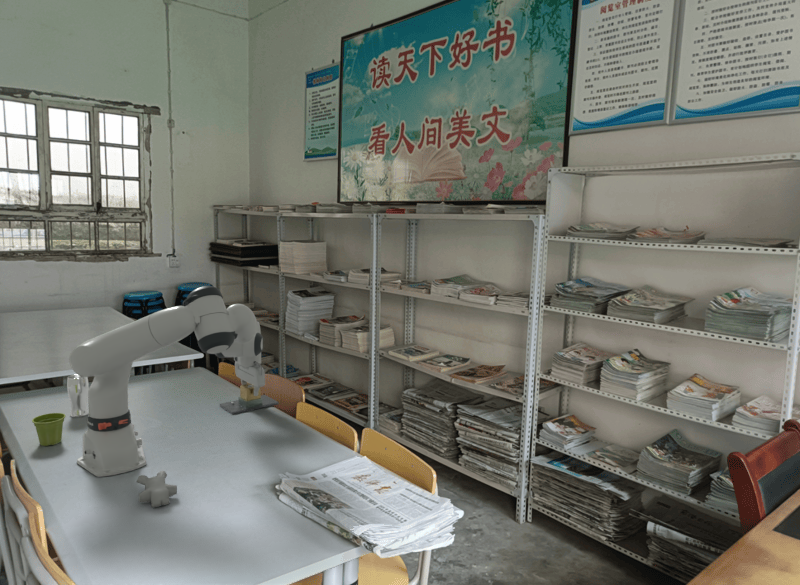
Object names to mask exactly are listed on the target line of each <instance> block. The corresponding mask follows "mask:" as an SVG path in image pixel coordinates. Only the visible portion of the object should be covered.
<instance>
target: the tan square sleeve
mask: <svg viewBox="0 0 800 585" xmlns="http://www.w3.org/2000/svg"><path fill="white" fill-rule="evenodd" d="M248 385H251V384H250V383H247V384H245V385H242V384H241V385H239V386H240V388H239V394H240V395H239V397H241V398H243V399H244V400H246V401H250V400H254V399H259V398H261V395H262V392H261V388H262V387H260V389H259V391H258V396H254V395H253V391H254V387H249V388H248Z"/></svg>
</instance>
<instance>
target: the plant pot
mask: <svg viewBox="0 0 800 585" xmlns="http://www.w3.org/2000/svg"><path fill="white" fill-rule="evenodd" d="M65 419H66V414H65V413H63V412H52V413H44V414H41V415H38V416H35V417H34V418H32V420H31V423H33V425H34V427H35V431H36V434H37V437H38V438H37V439H38V442H39V444H40V446H44V447H47V446H48V447H49V446H50V445H53V446H54V445H57V444H59V443H61V442H62V439H63V438H62V437H63V429H64V428H63V427H64V421H65Z"/></svg>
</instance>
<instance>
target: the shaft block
mask: <svg viewBox="0 0 800 585" xmlns="http://www.w3.org/2000/svg"><path fill="white" fill-rule="evenodd" d="M249 387H253V385H248V388H249ZM279 403H280V402H279V401H278V400H276V399H274V398H271V397H270V396H268V395H266V394H261V398H259V399H254V400H250V401H246V400H244V399H243V398H241V397H240V396H238V399H236V400H232V401H226V402H223V403H222V402H221V403H219V407H220V408H221V409H223V410H225V411H226V412H228V413H229V414H231V415H236V414H240V413H246V412H250V411H255V410H258V409H260V410H261V409H264V408H269V407H274V406H279Z"/></svg>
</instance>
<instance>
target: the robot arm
mask: <svg viewBox="0 0 800 585" xmlns="http://www.w3.org/2000/svg"><path fill="white" fill-rule="evenodd" d="M260 325H261V324H260V322H259V320H257V318H256V316H255V313H254V312H253V310H252V309H251V308H250V307H249V306H247V305H245V304H243V303H234V304H231V305H229V306H228V307H227V306H226V305H225V302H224V296H223V294H222V293H221V291H220V290H219V288H218V287H215V286H212V285H204V286H201V287H197V288H195V289H193V290H192V291H191V292H190V293H189V294H188V295H187V296H186V298H184V300H183V302H182V305H176V306H172V307H168V308H164V309H160V310H157V311H155V312H153V313H151V314H148V315H146V316H144V317H141V318H139V319H137V320H134V321H132V322H129V323H127V324H124V325H121V326H119V327H117V328H114V329H112V330H109V331H107V332H105V333H102V334H99V335H97V336H94V337H92V338H89V339H87V340H85V341H83V342H82V343H80V344H79V345H78V346H76V347H75V348H73V349H72V350H71V352H70V354H69V358H68V360H69V365H70V368H71V370H72V371H73V372H74V373H75V374H78V375H80V376H83V377H88V378H89V377H93V379H92V383H91V384H90V386H89V390H88V398H87V408H88V412H89V413H88V414H87V415H86V417H87V419H86V423H87V427H88V428H87V430H86V431H85V432H84V434H83V435H82V456H80V457H78V458H77V459H76V464H78V465H79V466H80V467H82V468H83V469H85V470H86V471H87V472H89V473H91V474H92V475H94V476H95V477H101V478H102V477H109V476H116V475H120V474H123V473H128V472H131V471H135V470H137V469H140V468H142V467H144V466H145V465H147V461H146V460H147V459H146V456H145V452H144V447H143V440H142V437H141V438H137V437H136V436H138V435H139V431H138V430H136V431H135V424H133V423H132V418H131V417H132V416H131V412H130V409H129V382H130V376H131V372H132V367H133V364H134V361H136V360H138V359H141V358H144V357H146V356H148V355H150V354H153V353H155V352H158V351H160V350H162V349H165V348H167V347H169V346H172V345H174V344H176V343H178V342H180V341H181V340H183V339H185V338H187V337H188V336H189V335H191V334H192V333H193V332H194V334H195V337H196V340H197V344H198V347H199V349H200V350H201V352H202V353H205V354H207V355H215V356H216V357H217V358H218V359H225V358H233V360H234V361H235V362H234V373H235V376H236V377H237V378H238V379H240V382H241V385H245V384H251V385H253V387H254V391H253V395H254V396H258V391H259V389H260V387H261V388H262V387H265V385H266V373H265V369H264V367H263V366H262V365H261V364H262V352H263V351H264V336H263V335H262V331H261V326H260Z"/></svg>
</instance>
